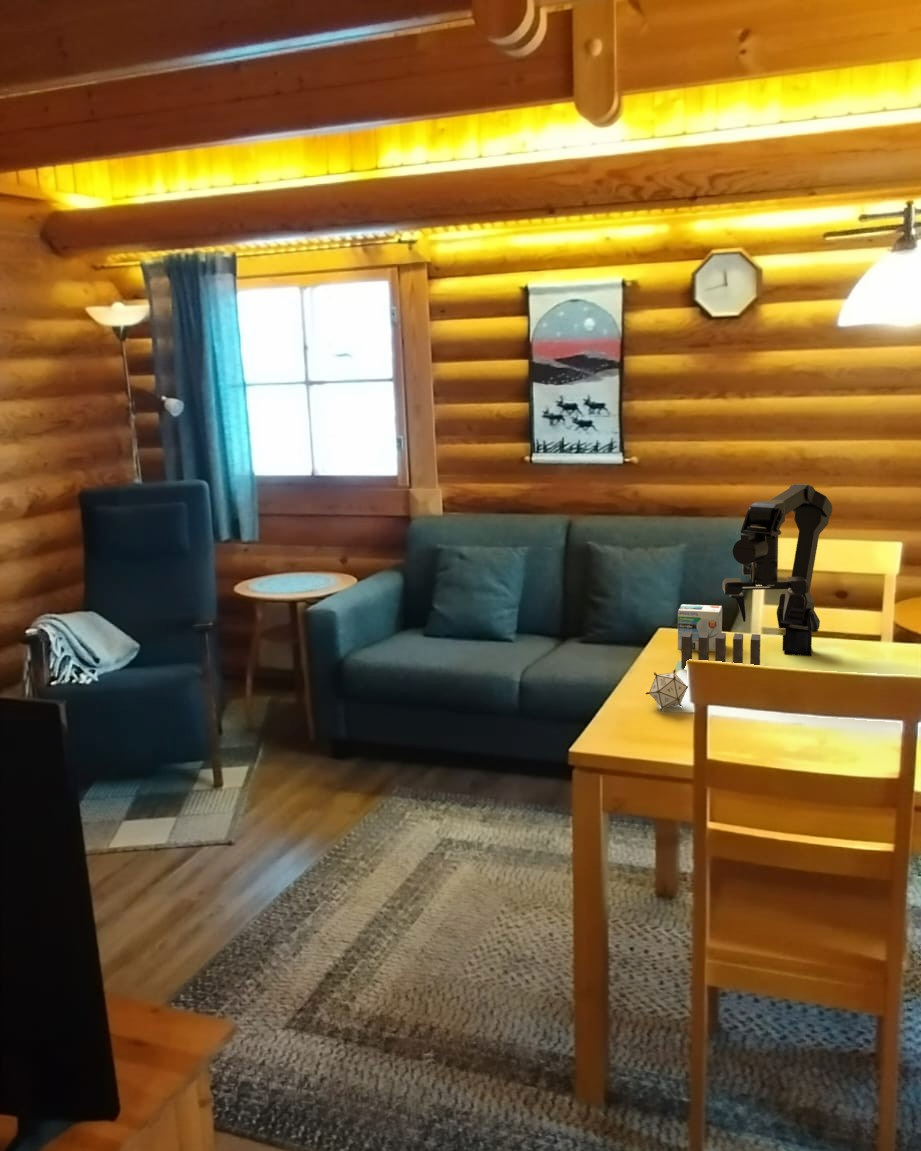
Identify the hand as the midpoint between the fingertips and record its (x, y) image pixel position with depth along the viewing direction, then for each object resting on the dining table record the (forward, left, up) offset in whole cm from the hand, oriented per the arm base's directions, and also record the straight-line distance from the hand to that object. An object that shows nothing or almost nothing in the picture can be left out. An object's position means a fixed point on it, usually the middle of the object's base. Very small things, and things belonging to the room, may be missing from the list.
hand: (764, 621), depth 240 cm
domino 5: (+2, 0, -12) cm, 12 cm away
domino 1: (+18, 0, -12) cm, 22 cm away
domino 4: (+6, 0, -12) cm, 13 cm away
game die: (+18, +30, -13) cm, 38 cm away
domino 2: (+14, 0, -12) cm, 18 cm away
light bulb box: (+17, -17, -13) cm, 27 cm away
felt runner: (+10, 0, -12) cm, 16 cm away
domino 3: (+10, 0, -12) cm, 16 cm away
